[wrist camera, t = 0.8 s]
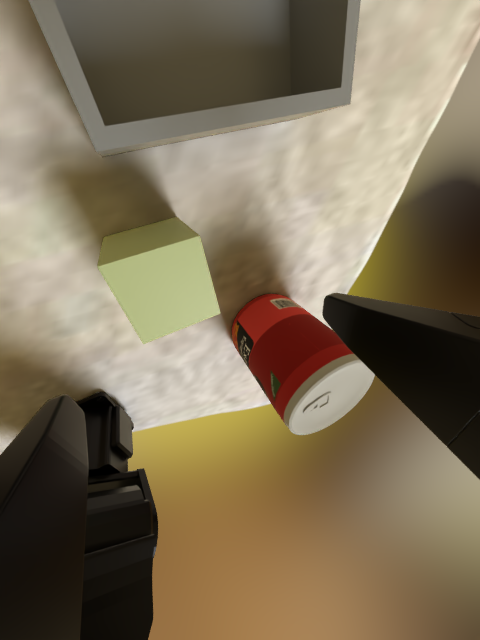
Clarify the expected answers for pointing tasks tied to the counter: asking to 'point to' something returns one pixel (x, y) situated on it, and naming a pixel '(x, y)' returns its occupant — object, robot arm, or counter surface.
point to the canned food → (299, 363)
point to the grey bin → (198, 64)
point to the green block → (159, 277)
